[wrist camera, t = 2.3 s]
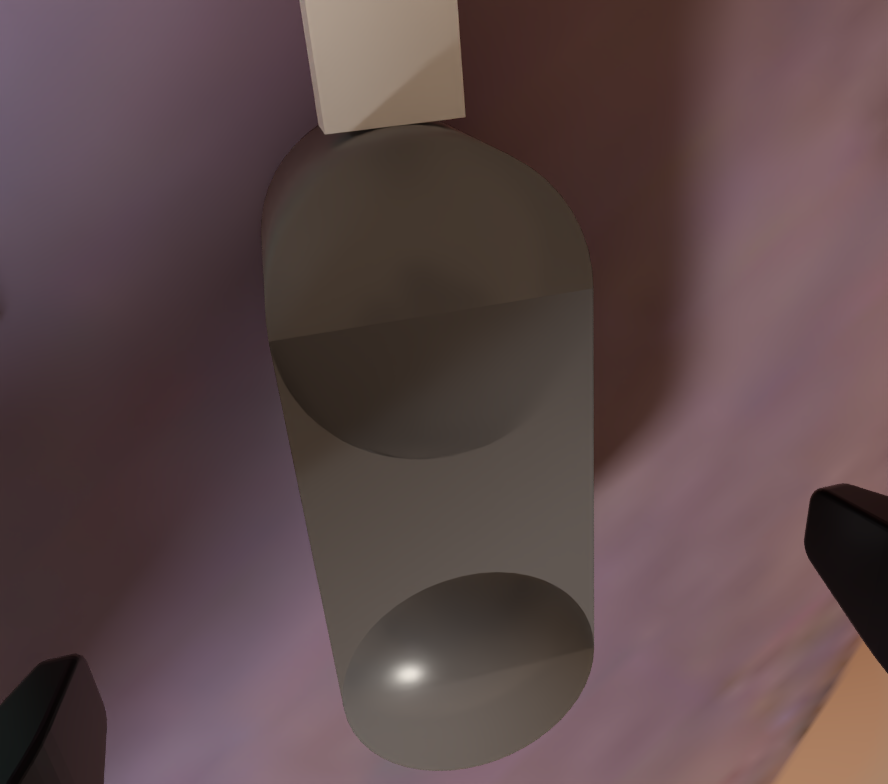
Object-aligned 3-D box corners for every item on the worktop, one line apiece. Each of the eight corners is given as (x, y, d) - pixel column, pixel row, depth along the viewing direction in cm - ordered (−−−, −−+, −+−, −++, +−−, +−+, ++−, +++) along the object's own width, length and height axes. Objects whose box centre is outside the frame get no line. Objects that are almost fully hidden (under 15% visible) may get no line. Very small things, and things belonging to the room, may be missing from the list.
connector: (521, 585, 17) (594, 734, 13) (337, 626, 16) (361, 796, 12) (483, -84, 11) (591, -137, 8) (200, -63, 10) (177, -106, 7)
